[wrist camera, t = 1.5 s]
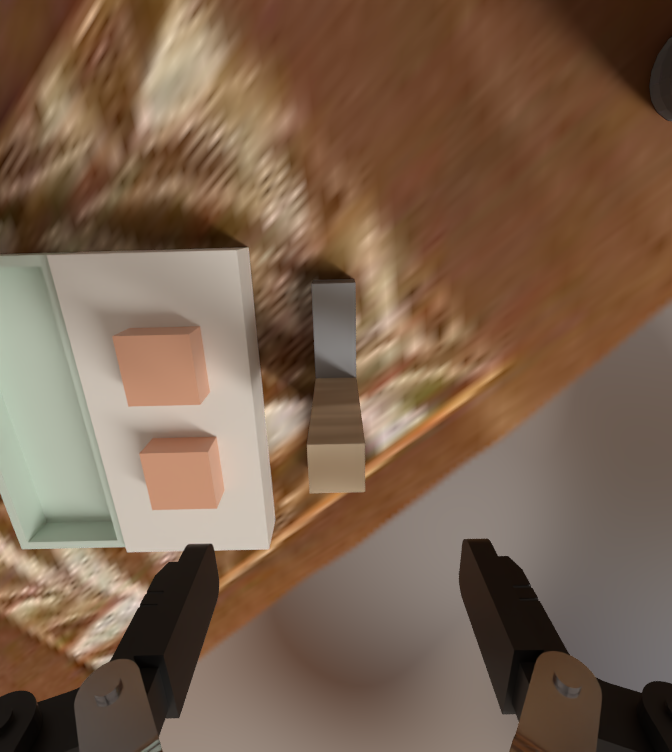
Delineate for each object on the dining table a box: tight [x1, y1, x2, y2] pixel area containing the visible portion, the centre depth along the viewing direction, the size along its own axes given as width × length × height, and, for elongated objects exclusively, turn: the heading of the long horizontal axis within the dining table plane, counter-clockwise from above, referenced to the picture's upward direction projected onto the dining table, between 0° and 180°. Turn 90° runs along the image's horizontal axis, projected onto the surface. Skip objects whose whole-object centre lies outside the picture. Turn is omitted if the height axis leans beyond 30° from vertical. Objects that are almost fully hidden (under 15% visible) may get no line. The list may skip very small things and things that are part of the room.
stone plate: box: [47, 247, 275, 552], centre depth 26 cm, size 20×10×3 cm, turn 1°
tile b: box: [139, 437, 225, 510], centre depth 24 cm, size 4×4×2 cm
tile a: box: [112, 326, 210, 407], centre depth 22 cm, size 4×4×2 cm
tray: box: [0, 252, 126, 549], centre depth 26 cm, size 20×8×2 cm, turn 1°
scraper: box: [307, 279, 365, 493], centre depth 22 cm, size 14×2×10 cm, turn 1°
